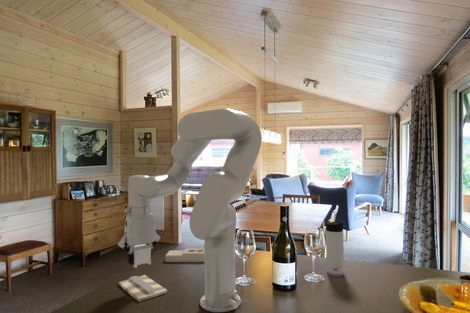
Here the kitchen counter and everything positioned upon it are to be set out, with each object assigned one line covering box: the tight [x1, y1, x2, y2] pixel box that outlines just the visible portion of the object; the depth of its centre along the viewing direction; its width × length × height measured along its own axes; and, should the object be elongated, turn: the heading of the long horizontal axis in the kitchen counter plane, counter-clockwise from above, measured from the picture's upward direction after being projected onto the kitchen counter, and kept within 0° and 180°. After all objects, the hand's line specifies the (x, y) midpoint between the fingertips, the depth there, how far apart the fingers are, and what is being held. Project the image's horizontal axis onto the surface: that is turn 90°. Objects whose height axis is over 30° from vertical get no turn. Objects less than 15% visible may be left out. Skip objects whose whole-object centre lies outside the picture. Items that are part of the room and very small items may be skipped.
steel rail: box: [129, 275, 156, 294], centre depth 114 cm, size 16×2×1 cm, turn 39°
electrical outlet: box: [165, 248, 204, 263], centre depth 145 cm, size 7×4×18 cm
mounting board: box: [118, 274, 168, 303], centre depth 114 cm, size 18×10×1 cm, turn 39°
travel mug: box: [325, 221, 345, 278], centre depth 124 cm, size 6×7×20 cm
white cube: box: [131, 244, 152, 269], centre depth 114 cm, size 6×6×6 cm
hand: (139, 261), depth 114 cm, fingers closed on white cube, 5 cm apart
